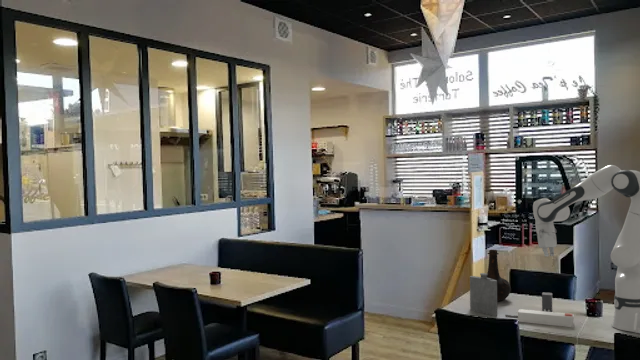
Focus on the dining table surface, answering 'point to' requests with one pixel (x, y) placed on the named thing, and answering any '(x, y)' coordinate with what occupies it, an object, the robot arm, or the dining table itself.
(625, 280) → the robot arm
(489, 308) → the hip flask
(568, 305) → the dining table surface
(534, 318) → the power strip
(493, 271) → the glass bottle
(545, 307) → the charger
